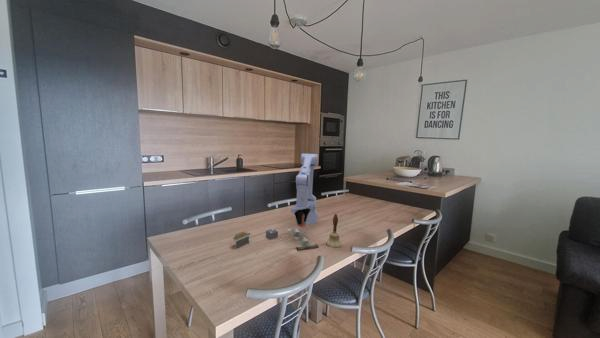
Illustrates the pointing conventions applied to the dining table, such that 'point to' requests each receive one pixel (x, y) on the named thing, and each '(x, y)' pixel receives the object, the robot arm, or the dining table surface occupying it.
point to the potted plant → (241, 239)
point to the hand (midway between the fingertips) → (301, 222)
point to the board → (305, 244)
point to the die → (272, 234)
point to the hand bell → (334, 235)
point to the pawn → (302, 221)
